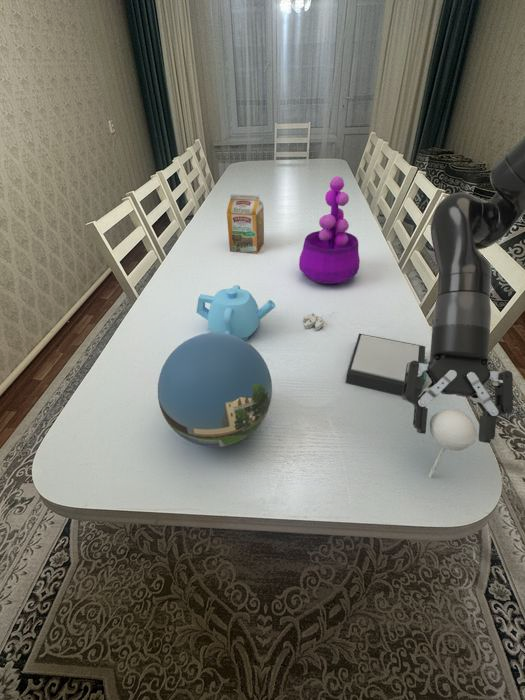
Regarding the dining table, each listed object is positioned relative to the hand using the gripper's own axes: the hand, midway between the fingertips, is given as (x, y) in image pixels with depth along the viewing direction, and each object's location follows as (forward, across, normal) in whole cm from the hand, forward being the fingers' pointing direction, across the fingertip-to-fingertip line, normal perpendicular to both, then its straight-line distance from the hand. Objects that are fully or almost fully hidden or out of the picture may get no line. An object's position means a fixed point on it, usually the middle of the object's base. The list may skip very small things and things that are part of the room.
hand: (452, 437), depth 52 cm
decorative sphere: (+5, -37, +12) cm, 39 cm away
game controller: (-23, -21, +40) cm, 50 cm away
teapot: (-17, -42, +34) cm, 57 cm away
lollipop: (+8, 0, +9) cm, 12 cm away
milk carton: (-55, -52, +72) cm, 105 cm away
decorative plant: (-41, -21, +58) cm, 74 cm away
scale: (-11, -6, +27) cm, 30 cm away
